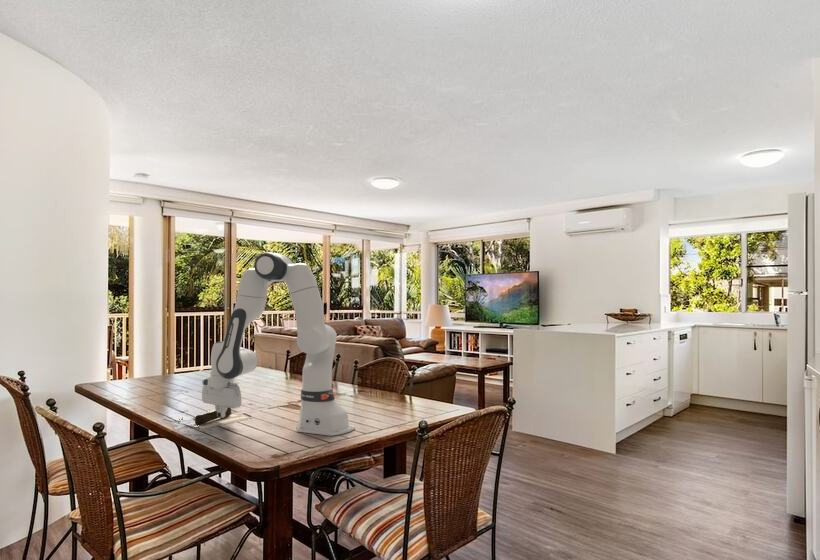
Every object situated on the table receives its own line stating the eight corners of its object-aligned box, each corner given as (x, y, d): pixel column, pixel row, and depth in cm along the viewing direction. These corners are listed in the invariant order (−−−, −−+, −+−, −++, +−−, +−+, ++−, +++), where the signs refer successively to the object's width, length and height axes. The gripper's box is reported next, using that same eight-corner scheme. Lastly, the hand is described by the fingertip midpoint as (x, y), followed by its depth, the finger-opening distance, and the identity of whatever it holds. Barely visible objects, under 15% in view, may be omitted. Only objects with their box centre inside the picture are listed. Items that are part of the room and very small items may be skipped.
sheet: (251, 420, 201) (251, 417, 201) (203, 431, 182) (203, 429, 182) (209, 411, 216) (209, 409, 216) (160, 421, 197) (160, 418, 197)
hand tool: (202, 425, 186) (202, 413, 186) (194, 425, 187) (194, 413, 188) (236, 415, 204) (236, 404, 204) (228, 415, 205) (228, 404, 205)
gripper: (245, 383, 192) (244, 418, 191) (213, 378, 203) (212, 412, 202) (232, 385, 186) (231, 422, 186) (199, 380, 197) (198, 415, 197)
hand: (221, 416), depth 194 cm, fingers closed
